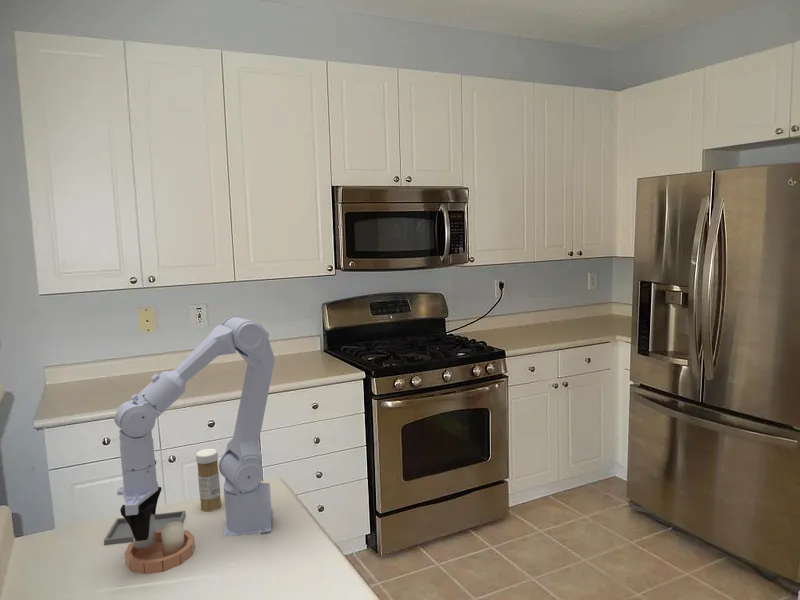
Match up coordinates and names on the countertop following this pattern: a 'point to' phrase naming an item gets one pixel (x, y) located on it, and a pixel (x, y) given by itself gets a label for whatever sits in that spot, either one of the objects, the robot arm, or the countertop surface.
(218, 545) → the countertop surface
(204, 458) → the sprinkles bottle
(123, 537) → the tray
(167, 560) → the bowl
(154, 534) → the grey rounded cylinder
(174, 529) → the cream rounded cylinder
